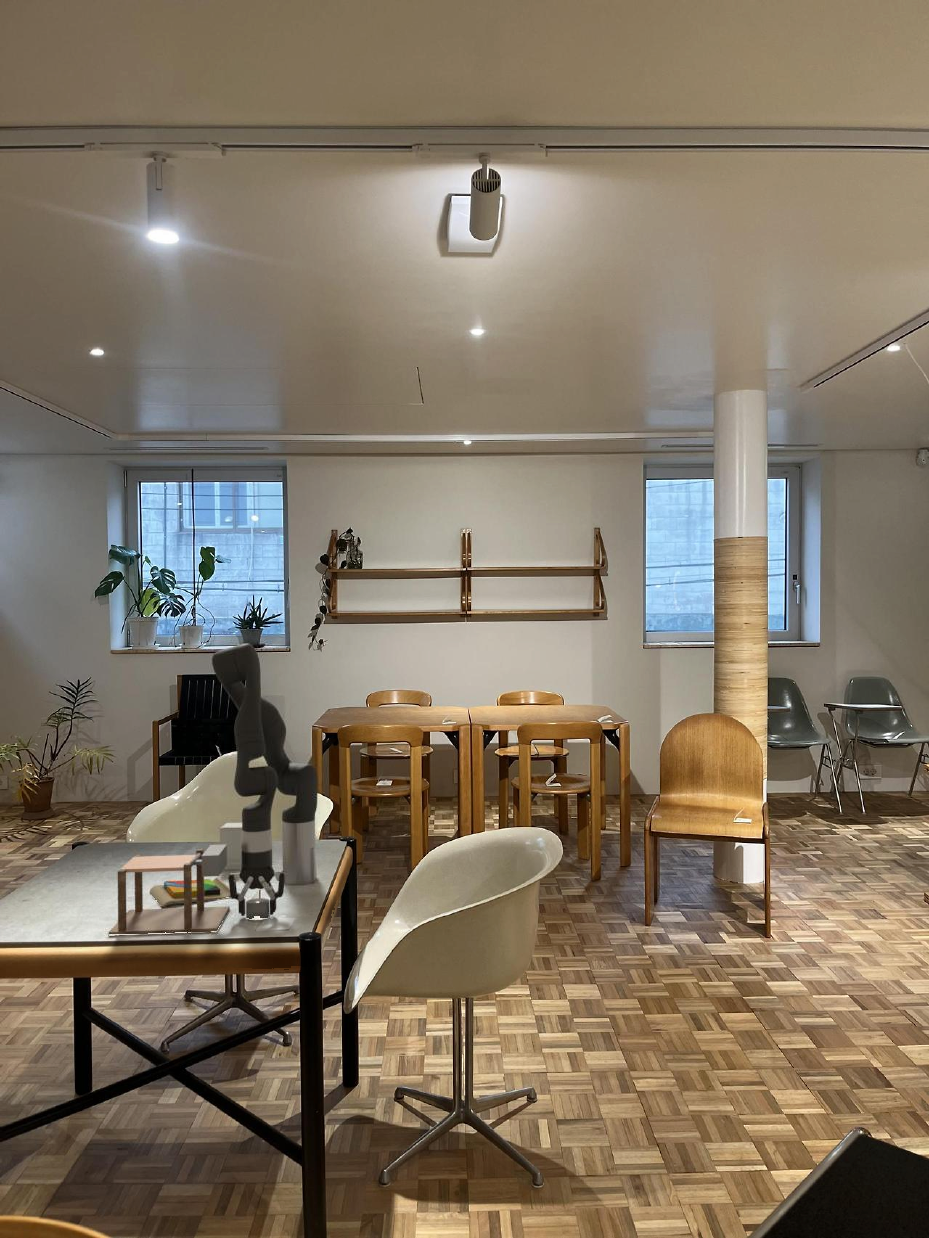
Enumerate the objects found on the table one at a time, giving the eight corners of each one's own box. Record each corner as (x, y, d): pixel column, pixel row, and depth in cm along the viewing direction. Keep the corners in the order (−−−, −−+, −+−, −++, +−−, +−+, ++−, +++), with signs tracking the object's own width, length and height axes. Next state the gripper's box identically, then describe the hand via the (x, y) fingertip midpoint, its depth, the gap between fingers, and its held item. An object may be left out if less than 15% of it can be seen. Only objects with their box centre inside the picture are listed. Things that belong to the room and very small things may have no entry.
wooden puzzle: (234, 899, 247) (234, 886, 247) (162, 910, 238) (161, 897, 238) (217, 883, 262) (217, 871, 262) (148, 894, 253) (148, 881, 253)
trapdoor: (227, 863, 233) (227, 843, 233) (218, 876, 221) (218, 855, 221) (134, 866, 231) (133, 846, 231) (120, 879, 219) (119, 858, 219)
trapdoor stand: (229, 910, 236) (229, 847, 236) (217, 932, 219) (216, 864, 219) (129, 913, 234) (128, 850, 234) (108, 936, 217) (107, 868, 217)
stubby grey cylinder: (270, 913, 233) (270, 897, 233) (267, 920, 227) (267, 904, 227) (248, 914, 232) (248, 898, 232) (244, 921, 227) (244, 905, 227)
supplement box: (244, 869, 275) (243, 827, 275) (219, 870, 275) (218, 827, 275) (250, 863, 282) (249, 822, 282) (226, 863, 282) (225, 822, 282)
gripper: (287, 843, 234) (288, 909, 234) (230, 844, 233) (230, 911, 233) (284, 850, 227) (284, 918, 226) (224, 851, 225) (225, 920, 225)
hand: (257, 914), depth 230 cm, fingers open, 6 cm apart
